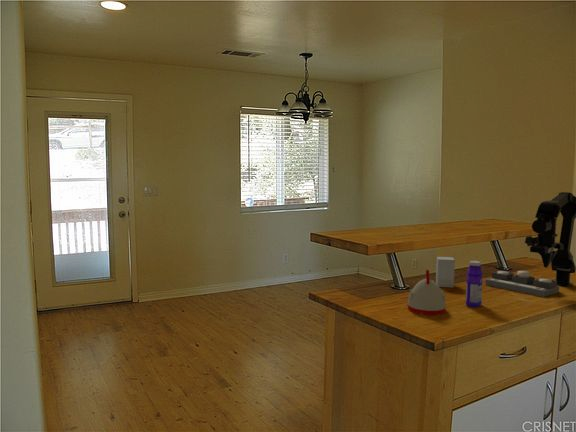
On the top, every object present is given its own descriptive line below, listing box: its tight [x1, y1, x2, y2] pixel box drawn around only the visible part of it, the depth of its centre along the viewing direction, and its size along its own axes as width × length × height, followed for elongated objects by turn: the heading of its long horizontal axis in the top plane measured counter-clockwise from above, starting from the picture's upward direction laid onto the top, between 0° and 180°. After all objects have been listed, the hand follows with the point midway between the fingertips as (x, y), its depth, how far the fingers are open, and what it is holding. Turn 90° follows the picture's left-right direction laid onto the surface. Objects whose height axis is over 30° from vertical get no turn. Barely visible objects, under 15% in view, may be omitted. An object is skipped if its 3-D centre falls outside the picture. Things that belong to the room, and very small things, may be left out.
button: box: [496, 270, 509, 275], centre depth 226 cm, size 5×5×2 cm
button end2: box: [538, 278, 553, 283], centre depth 211 cm, size 5×5×2 cm
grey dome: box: [407, 269, 447, 316], centre depth 185 cm, size 14×14×15 cm
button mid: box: [516, 270, 531, 279], centre depth 218 cm, size 5×5×2 cm
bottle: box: [465, 260, 484, 308], centre depth 190 cm, size 7×6×17 cm
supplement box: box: [435, 256, 456, 288], centre depth 222 cm, size 7×7×13 cm
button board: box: [485, 271, 560, 298], centre depth 218 cm, size 14×26×5 cm, turn 38°
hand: (545, 267), depth 210 cm, fingers closed
